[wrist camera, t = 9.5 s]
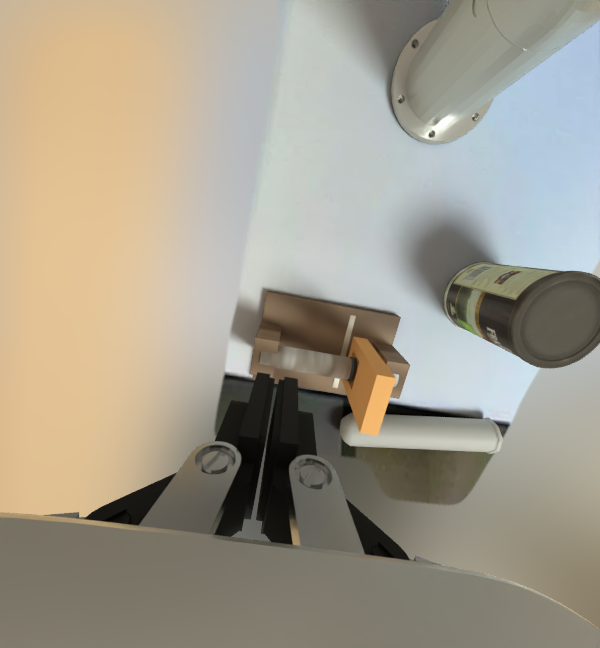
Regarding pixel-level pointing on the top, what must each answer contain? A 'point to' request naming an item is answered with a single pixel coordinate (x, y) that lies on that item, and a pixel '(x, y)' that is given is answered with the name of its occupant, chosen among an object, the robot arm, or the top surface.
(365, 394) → the orange flat block
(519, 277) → the coffee can
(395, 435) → the tube
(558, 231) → the top surface
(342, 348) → the pipe stand
